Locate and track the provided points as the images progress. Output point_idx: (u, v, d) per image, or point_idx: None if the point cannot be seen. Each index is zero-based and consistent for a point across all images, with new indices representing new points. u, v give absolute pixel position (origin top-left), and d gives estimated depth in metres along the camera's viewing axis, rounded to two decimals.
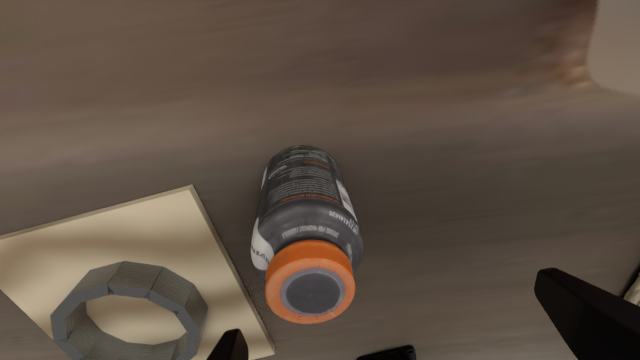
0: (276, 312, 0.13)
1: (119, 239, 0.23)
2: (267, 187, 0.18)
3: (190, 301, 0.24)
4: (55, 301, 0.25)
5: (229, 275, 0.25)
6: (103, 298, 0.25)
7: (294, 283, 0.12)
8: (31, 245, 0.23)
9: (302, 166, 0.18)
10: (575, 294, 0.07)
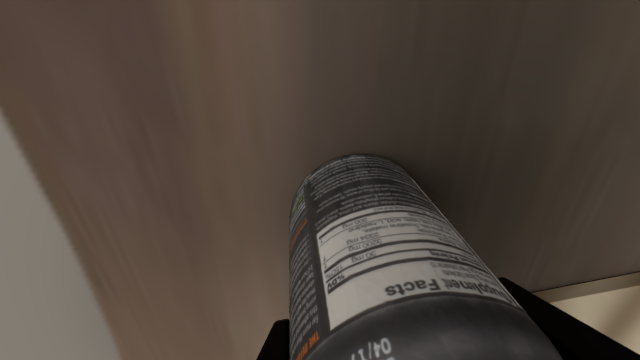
0: None
1: None
2: None
3: None
4: None
5: None
6: None
7: None
8: None
9: None
10: None
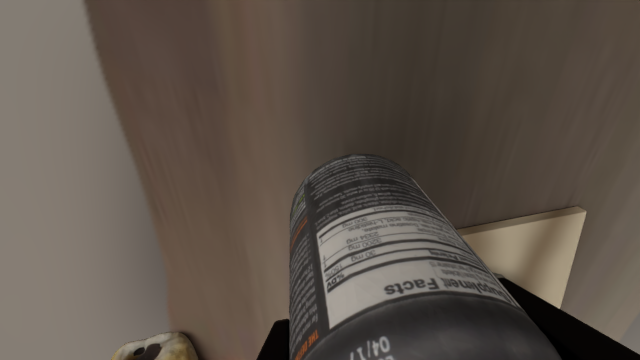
0: None
1: None
2: None
3: None
4: None
5: None
6: None
7: None
8: None
9: None
10: None
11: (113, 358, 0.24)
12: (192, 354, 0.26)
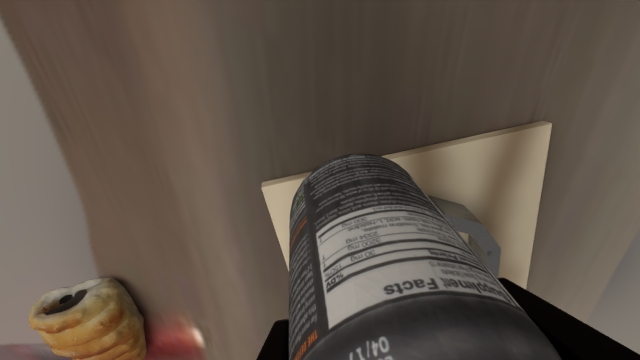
0: None
1: None
2: None
3: None
4: None
5: None
6: None
7: None
8: None
9: (289, 274, 0.10)
10: None
11: (35, 305, 0.22)
12: (126, 302, 0.24)
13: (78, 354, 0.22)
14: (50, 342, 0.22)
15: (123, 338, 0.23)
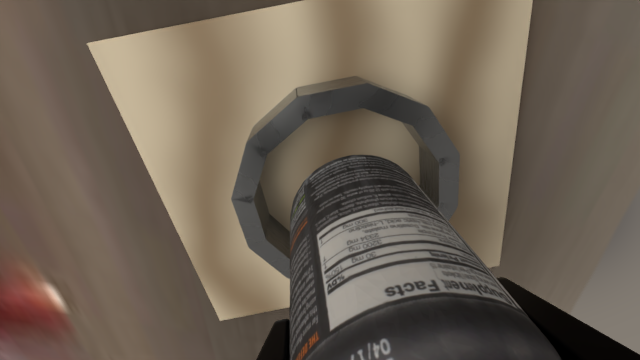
0: None
1: (199, 172, 0.16)
2: None
3: (305, 91, 0.13)
4: None
5: (282, 13, 0.13)
6: None
7: None
8: (212, 265, 0.19)
9: None
10: None
11: None
12: None
13: None
14: None
15: None
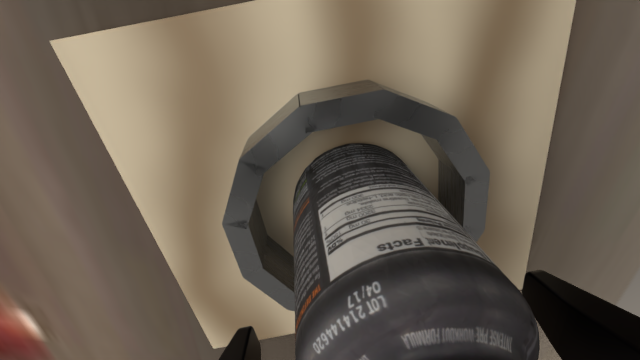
0: None
1: (186, 189, 0.14)
2: None
3: (309, 98, 0.11)
4: None
5: (281, 6, 0.11)
6: None
7: None
8: (203, 290, 0.17)
9: None
10: (560, 297, 0.07)
11: None
12: None
13: None
14: None
15: None
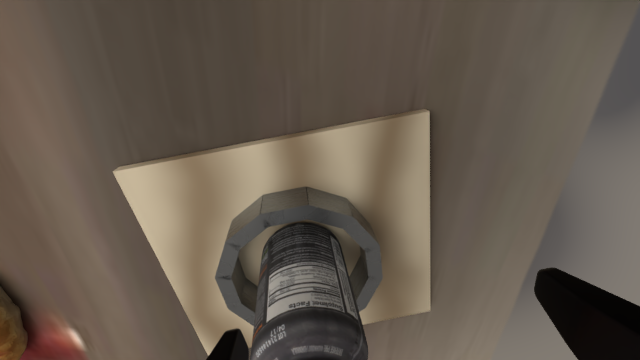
0: None
1: (191, 250, 0.21)
2: None
3: (267, 204, 0.19)
4: None
5: (251, 150, 0.19)
6: None
7: None
8: (201, 314, 0.24)
9: None
10: (575, 294, 0.07)
11: None
12: None
13: None
14: None
15: None
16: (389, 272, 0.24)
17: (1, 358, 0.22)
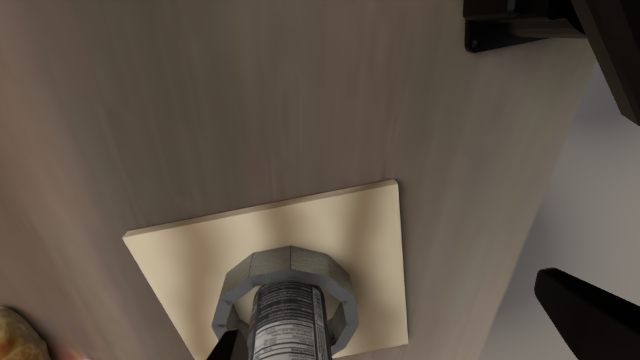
0: None
1: (191, 298, 0.24)
2: None
3: (255, 265, 0.21)
4: None
5: (241, 218, 0.21)
6: None
7: None
8: (201, 349, 0.27)
9: None
10: (575, 294, 0.07)
11: None
12: (20, 330, 0.24)
13: None
14: None
15: None
16: (368, 312, 0.27)
17: None
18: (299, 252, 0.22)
